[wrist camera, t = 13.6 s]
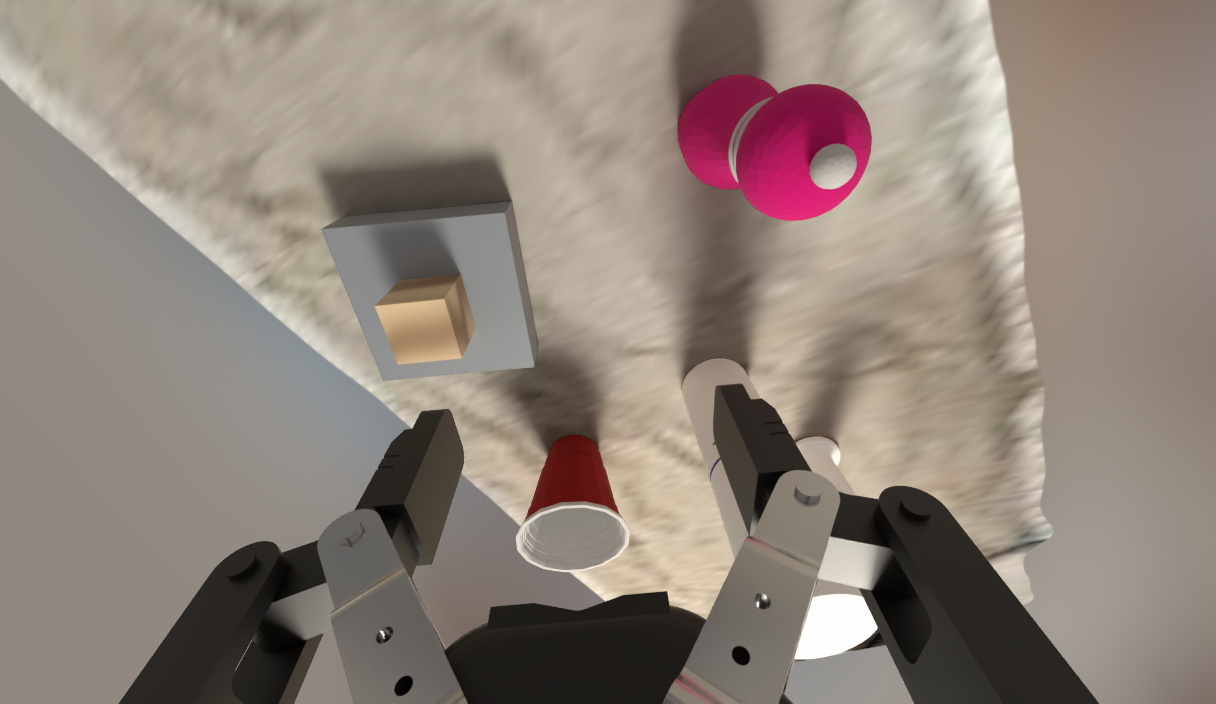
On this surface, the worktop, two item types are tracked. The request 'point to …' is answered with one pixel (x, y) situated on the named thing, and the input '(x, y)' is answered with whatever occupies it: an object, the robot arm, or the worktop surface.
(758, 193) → the pepper mill
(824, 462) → the candle
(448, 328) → the oak cube
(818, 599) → the cylindrical container
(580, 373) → the worktop surface
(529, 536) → the plastic cup
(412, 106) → the worktop surface
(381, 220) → the slate plinth
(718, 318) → the worktop surface
